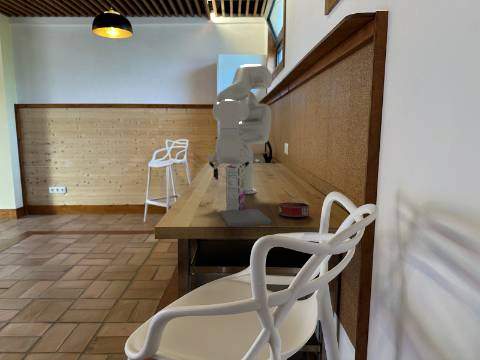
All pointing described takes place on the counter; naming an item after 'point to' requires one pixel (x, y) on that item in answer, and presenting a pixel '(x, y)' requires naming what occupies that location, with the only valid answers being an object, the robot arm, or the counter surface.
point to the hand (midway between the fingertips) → (229, 179)
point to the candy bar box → (235, 186)
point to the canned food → (294, 208)
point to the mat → (244, 217)
